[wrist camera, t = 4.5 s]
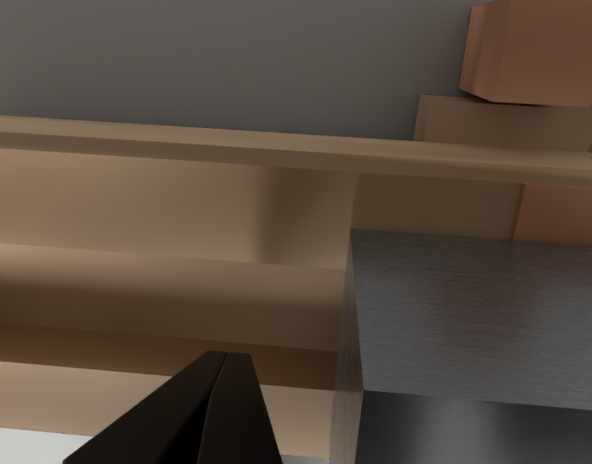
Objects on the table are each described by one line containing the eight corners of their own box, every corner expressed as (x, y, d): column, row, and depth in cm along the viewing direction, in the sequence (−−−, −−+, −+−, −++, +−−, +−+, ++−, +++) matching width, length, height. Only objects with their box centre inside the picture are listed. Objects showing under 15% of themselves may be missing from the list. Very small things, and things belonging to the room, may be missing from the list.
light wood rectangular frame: (878, 465, 16) (1101, 638, 12) (21, 386, 18) (-92, 511, 13) (1158, 40, 11) (1743, 38, 7) (-60, -20, 13) (-287, -55, 8)
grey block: (533, 410, 12) (703, 726, 6) (330, 392, 12) (327, 682, 7) (587, 220, 10) (894, 437, 5) (347, 203, 10) (364, 389, 5)
